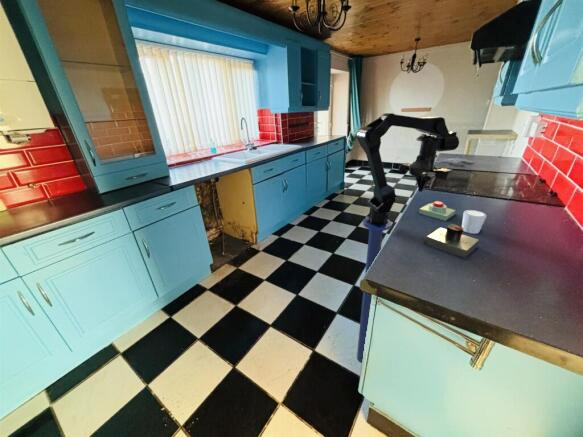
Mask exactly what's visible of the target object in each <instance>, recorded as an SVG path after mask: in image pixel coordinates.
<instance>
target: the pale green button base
mask: <svg viewBox="0 0 583 437" xmlns="http://www.w3.org/2000/svg"><path fill="white" fill-rule="evenodd" d="M433 204H434V202H431V203H428V204H425V205H424V206H422V207H419V210H418V214H420V215H423V216H427V217H430V218H434V219H437V220H441V221H443V222H446V221H447V220H449V219H450V218H452V217H453V216H455V213H456V209H452V208H448V206H447V205H446V204H443V207H441V208H439V207H434V206H433Z"/></svg>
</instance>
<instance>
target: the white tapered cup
mask: <svg viewBox="0 0 583 437" xmlns="http://www.w3.org/2000/svg"><path fill="white" fill-rule="evenodd" d="M486 219H487V214H486V213H485V212H483V211H480V210H477V209H476V210H475V209H466V210H464V211H463V215H462V222H461V227H462V228H463V232H465V233H468V234H479V233H480V231H481V229H482V227H483V225H484V223H485V221H486Z"/></svg>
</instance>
